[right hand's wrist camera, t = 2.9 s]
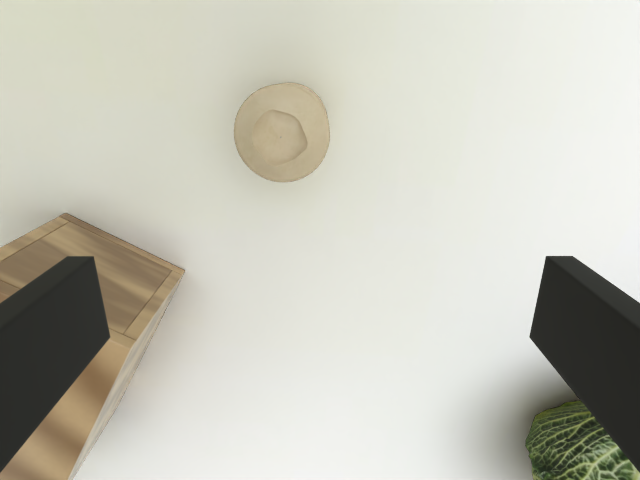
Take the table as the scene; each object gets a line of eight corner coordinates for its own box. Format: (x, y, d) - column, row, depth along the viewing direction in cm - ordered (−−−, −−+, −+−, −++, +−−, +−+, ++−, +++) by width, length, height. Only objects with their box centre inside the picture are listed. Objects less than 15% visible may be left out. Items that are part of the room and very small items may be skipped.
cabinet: (118, 405, 42) (49, 516, 32) (10, 361, 40) (-101, 463, 30) (185, 270, 37) (130, 348, 26) (65, 212, 35) (-47, 271, 24)
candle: (338, 98, 32) (345, 107, 22) (312, 167, 34) (309, 201, 24) (268, 71, 31) (245, 68, 22) (246, 142, 33) (216, 168, 24)
